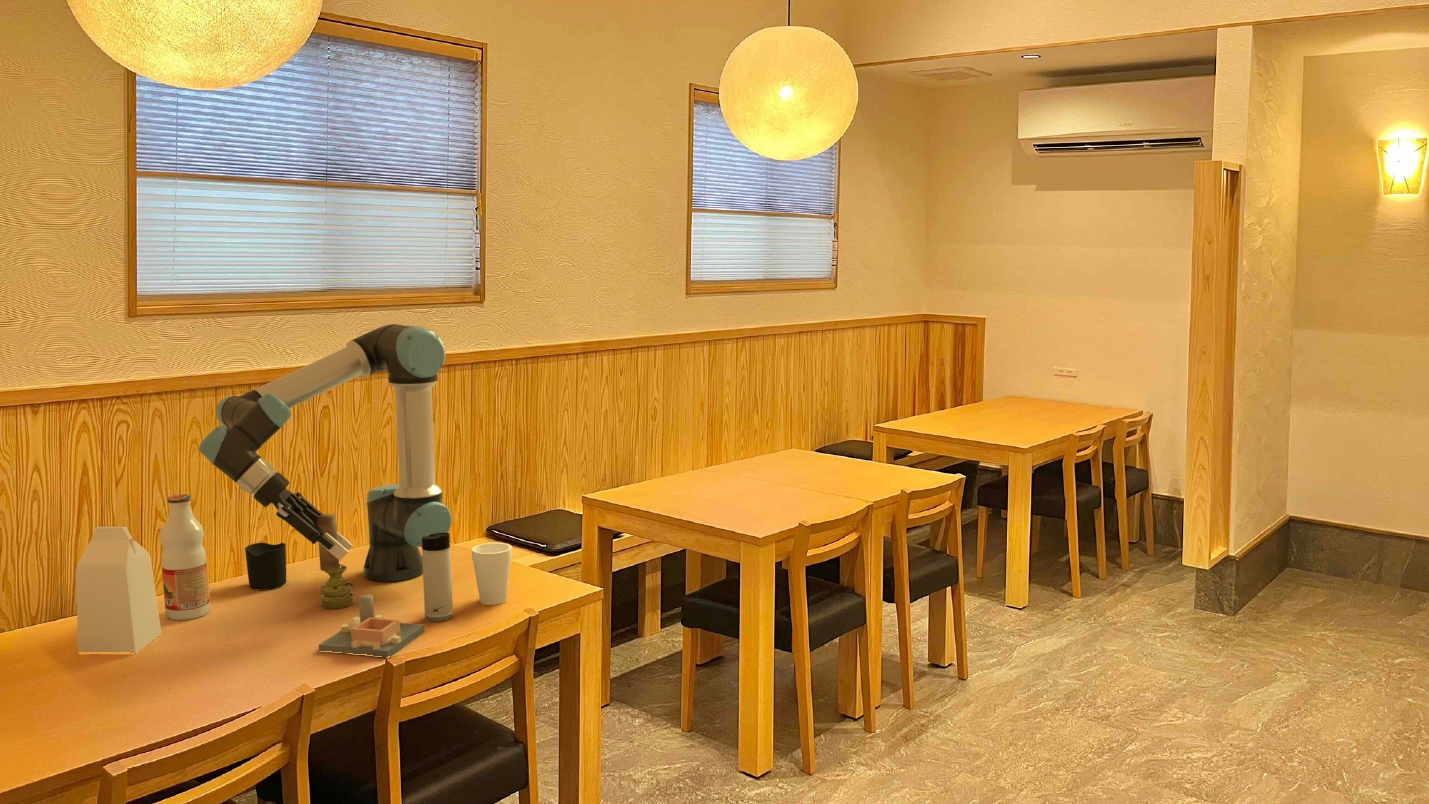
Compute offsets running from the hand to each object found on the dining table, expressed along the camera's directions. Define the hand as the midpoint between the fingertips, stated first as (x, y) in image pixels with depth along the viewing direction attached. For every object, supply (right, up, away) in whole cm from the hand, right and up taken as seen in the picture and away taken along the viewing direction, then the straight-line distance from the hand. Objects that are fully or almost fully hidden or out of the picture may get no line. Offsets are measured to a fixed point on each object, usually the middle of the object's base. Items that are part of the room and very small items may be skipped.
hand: (346, 552), depth 253 cm
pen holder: (-30, -12, +31) cm, 44 cm away
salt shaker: (-7, -15, +16) cm, 23 cm away
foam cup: (+29, -14, +19) cm, 37 cm away
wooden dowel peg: (-4, -3, 0) cm, 5 cm away
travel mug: (+19, -16, +7) cm, 26 cm away
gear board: (+8, -18, -8) cm, 21 cm away
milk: (-46, -19, -9) cm, 50 cm away
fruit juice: (-40, -16, +10) cm, 44 cm away
